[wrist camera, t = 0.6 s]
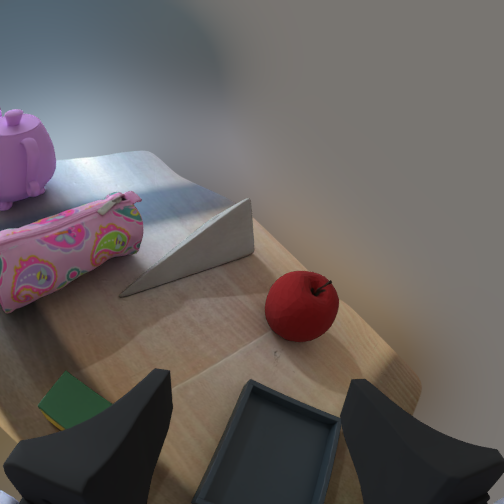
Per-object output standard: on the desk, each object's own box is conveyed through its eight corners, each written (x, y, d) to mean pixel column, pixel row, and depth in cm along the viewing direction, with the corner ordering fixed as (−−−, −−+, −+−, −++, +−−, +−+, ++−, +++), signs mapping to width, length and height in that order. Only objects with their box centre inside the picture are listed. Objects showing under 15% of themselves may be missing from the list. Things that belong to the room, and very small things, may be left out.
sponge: (107, 463, 20) (105, 456, 18) (46, 419, 21) (37, 405, 18) (130, 427, 24) (131, 416, 22) (71, 386, 24) (65, 370, 22)
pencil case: (112, 224, 43) (119, 172, 38) (148, 263, 41) (160, 208, 35) (-17, 279, 27) (-33, 221, 22) (8, 335, 24) (-14, 278, 19)
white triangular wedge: (176, 346, 32) (277, 241, 47) (130, 288, 31) (248, 196, 45) (144, 345, 40) (236, 256, 54) (107, 298, 38) (210, 218, 53)
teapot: (-39, 176, 36) (-43, 106, 27) (24, 151, 48) (29, 87, 40) (-3, 239, 32) (-14, 148, 24) (78, 199, 44) (86, 119, 36)
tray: (303, 537, 20) (313, 537, 19) (190, 503, 20) (195, 502, 19) (332, 424, 32) (342, 418, 31) (243, 386, 32) (250, 378, 31)
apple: (299, 297, 47) (332, 249, 41) (327, 346, 41) (369, 301, 35) (245, 302, 42) (275, 248, 36) (272, 360, 36) (313, 311, 30)
